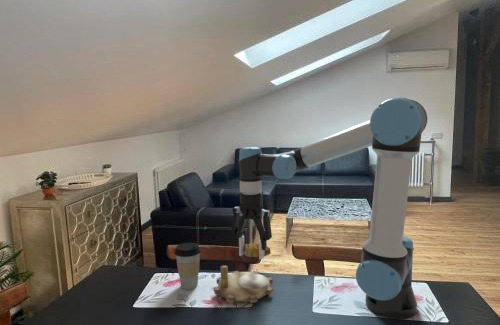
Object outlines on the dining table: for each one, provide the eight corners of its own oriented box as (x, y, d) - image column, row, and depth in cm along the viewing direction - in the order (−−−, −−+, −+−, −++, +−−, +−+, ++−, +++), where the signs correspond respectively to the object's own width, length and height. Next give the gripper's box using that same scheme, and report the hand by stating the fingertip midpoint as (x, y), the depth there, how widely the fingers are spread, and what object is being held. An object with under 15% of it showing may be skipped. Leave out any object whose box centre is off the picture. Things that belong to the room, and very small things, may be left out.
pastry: (269, 250, 128) (269, 240, 128) (271, 257, 122) (271, 247, 121) (244, 251, 128) (243, 241, 128) (244, 258, 121) (244, 248, 121)
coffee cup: (196, 293, 122) (195, 252, 120) (171, 291, 124) (169, 250, 122) (205, 280, 131) (204, 242, 129) (182, 279, 133) (180, 241, 131)
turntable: (260, 270, 136) (260, 249, 135) (283, 296, 116) (283, 271, 115) (208, 280, 129) (207, 257, 128) (222, 309, 109) (222, 282, 108)
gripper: (282, 192, 118) (282, 257, 121) (230, 187, 127) (232, 248, 130) (273, 197, 112) (273, 265, 115) (220, 192, 121) (221, 255, 124)
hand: (251, 256), depth 123 cm, fingers closed on pastry, 7 cm apart
